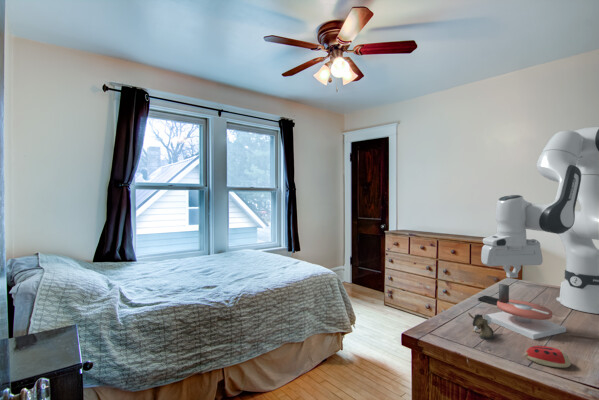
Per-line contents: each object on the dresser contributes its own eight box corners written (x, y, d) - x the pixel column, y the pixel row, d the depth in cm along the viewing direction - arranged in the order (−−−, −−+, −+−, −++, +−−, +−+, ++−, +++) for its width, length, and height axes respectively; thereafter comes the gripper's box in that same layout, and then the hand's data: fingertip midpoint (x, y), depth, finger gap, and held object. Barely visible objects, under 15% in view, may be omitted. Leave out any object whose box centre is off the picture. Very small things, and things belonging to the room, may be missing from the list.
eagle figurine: (460, 322, 98) (466, 328, 90) (473, 305, 98) (479, 309, 90) (483, 338, 96) (490, 345, 87) (495, 321, 95) (504, 327, 87)
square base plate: (515, 313, 109) (515, 301, 109) (565, 331, 94) (566, 318, 94) (484, 319, 104) (484, 306, 104) (533, 339, 89) (533, 324, 89)
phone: (485, 295, 128) (526, 305, 115) (485, 297, 128) (526, 308, 115) (476, 298, 123) (518, 309, 111) (476, 301, 123) (518, 312, 111)
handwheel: (559, 314, 96) (560, 292, 96) (541, 324, 89) (541, 300, 89) (508, 300, 109) (509, 281, 109) (488, 308, 101) (488, 287, 101)
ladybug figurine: (577, 371, 73) (578, 357, 72) (533, 366, 75) (533, 353, 75) (559, 357, 79) (559, 344, 79) (519, 353, 81) (519, 340, 81)
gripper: (532, 237, 108) (533, 274, 108) (478, 239, 108) (479, 275, 108) (547, 240, 102) (548, 279, 102) (489, 241, 102) (490, 280, 102)
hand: (512, 277), depth 105 cm, fingers closed
